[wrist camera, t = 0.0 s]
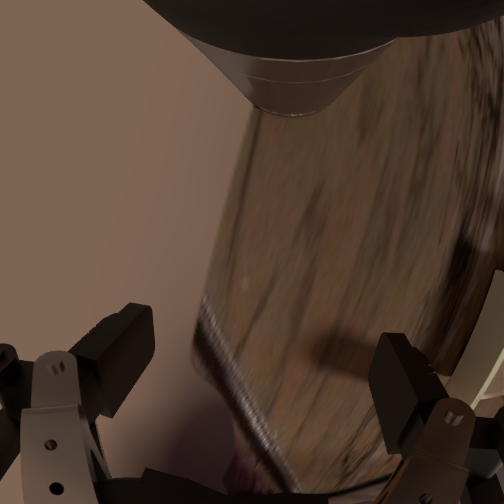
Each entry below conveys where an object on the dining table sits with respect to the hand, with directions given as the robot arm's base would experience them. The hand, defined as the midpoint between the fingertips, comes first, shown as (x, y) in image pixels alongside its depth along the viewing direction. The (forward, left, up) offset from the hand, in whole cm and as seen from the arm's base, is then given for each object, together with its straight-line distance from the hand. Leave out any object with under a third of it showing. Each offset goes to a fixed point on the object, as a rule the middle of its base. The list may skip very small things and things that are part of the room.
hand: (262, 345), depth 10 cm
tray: (+10, +30, -17) cm, 36 cm away
